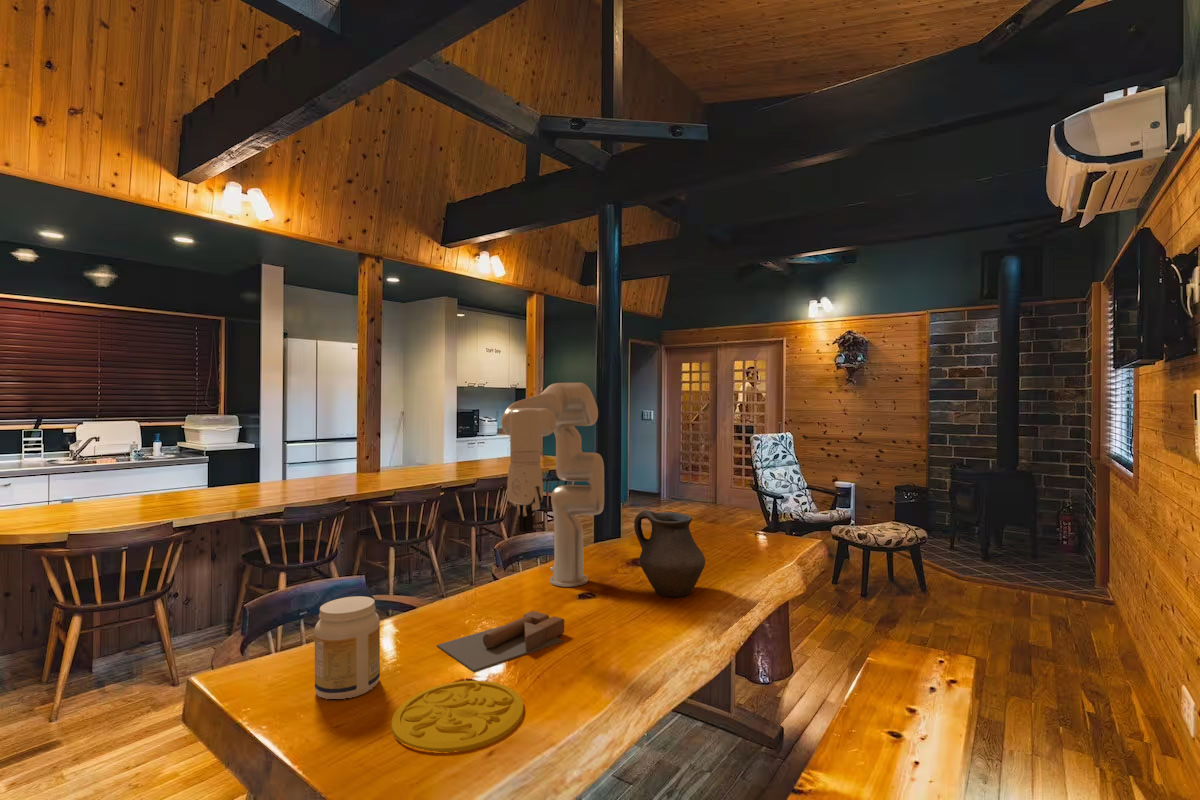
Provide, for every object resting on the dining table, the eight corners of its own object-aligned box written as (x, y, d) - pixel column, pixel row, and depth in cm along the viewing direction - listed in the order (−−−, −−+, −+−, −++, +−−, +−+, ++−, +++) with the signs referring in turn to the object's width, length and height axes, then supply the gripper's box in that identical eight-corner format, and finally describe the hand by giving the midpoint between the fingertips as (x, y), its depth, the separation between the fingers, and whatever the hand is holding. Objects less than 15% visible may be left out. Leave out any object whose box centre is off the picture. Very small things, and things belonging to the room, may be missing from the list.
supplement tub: (361, 668, 124) (361, 590, 125) (391, 685, 117) (391, 601, 117) (303, 690, 115) (303, 605, 115) (331, 709, 107) (332, 618, 108)
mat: (436, 646, 136) (436, 644, 136) (521, 621, 152) (521, 620, 152) (473, 672, 122) (473, 670, 122) (562, 641, 138) (562, 640, 138)
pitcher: (704, 605, 163) (703, 518, 164) (629, 601, 167) (629, 516, 168) (706, 584, 183) (705, 506, 184) (639, 581, 187) (638, 505, 188)
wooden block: (564, 633, 143) (515, 658, 128) (532, 624, 149) (481, 647, 134) (564, 618, 143) (515, 641, 128) (532, 610, 149) (481, 631, 134)
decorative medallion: (445, 678, 120) (445, 669, 120) (545, 698, 111) (545, 688, 112) (361, 738, 98) (361, 727, 98) (477, 769, 90) (477, 756, 90)
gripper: (497, 457, 146) (497, 528, 146) (529, 461, 135) (530, 538, 135) (521, 455, 151) (522, 524, 151) (555, 458, 140) (555, 533, 140)
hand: (526, 530), depth 143 cm, fingers closed
